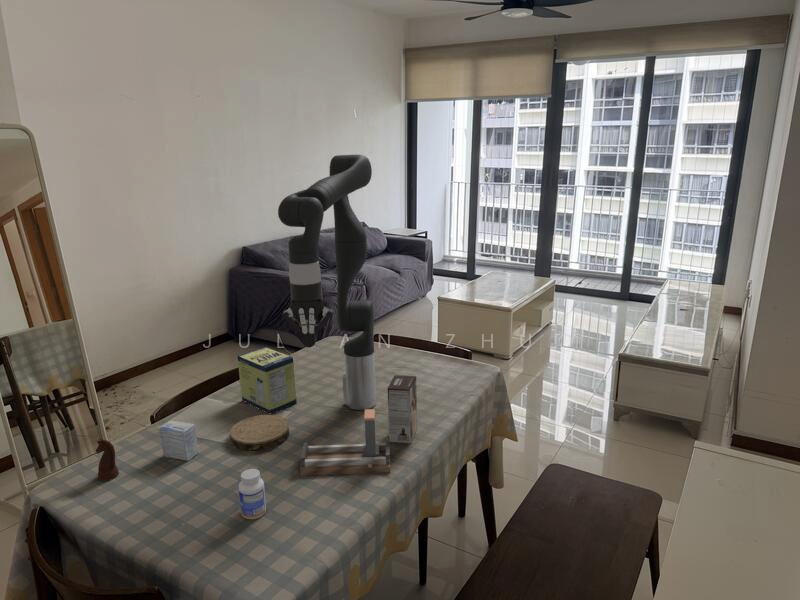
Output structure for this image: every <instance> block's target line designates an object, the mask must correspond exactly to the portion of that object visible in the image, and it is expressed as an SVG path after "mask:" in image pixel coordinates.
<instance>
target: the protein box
mask: <svg viewBox="0 0 800 600" xmlns="http://www.w3.org/2000/svg"><path fill="white" fill-rule="evenodd" d="M237 364H238V374H239V383H240V394H241V401H242V400H244V401H246V402H247V403H246V402H245V403H246V404H248V403H249V405H250V404H251V405H250V406H252V405H253V406H252V407H254V406H255V407H254V408H256V407H257V408H256V409H258V408H259V410H260V409H261V410H260V411H262V410H263V411H262V412H264V411H265V412H264V413H266V412H267V413H266V414H268V413H272V414H274V413H276V411H277V412H279V411H281V410H284V409H286V408H288V407H291V406H293V405H296V404H297V403H298V402H297V401H298V400H297V392H296V391H297V389H296V378H295V366H294V364H295V363H294V357H293V356H291V355H288V354H284V353H282V352H279V351H276V350H274V349H271V348H269V347H266V346H263V347H261V348H257V349H254V350H251V351H248V352H247V351H246V352H245V353H241V354H239V355H237ZM244 401H243V402H244ZM273 412H274V413H273Z"/></svg>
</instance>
